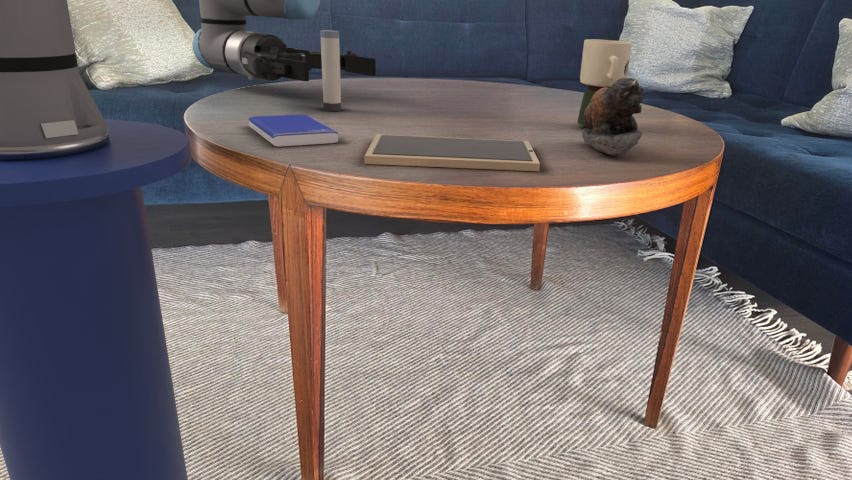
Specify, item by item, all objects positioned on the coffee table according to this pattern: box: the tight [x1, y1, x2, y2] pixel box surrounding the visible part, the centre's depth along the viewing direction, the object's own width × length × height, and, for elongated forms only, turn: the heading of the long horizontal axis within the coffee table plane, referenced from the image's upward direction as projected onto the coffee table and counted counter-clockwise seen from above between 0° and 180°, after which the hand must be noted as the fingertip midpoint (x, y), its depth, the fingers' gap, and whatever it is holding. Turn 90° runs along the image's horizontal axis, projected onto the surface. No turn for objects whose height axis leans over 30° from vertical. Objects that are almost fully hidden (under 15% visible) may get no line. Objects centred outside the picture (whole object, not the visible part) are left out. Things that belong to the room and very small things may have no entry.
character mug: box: [576, 38, 633, 126], centre depth 99 cm, size 11×7×13 cm, turn 5°
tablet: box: [364, 133, 541, 172], centre depth 79 cm, size 20×12×1 cm, turn 92°
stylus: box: [319, 29, 342, 112], centre depth 101 cm, size 3×3×12 cm
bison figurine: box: [581, 77, 644, 156], centre depth 84 cm, size 12×7×10 cm, turn 7°
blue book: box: [248, 114, 339, 147], centre depth 84 cm, size 2×8×12 cm
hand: (342, 69), depth 100 cm, fingers open, 13 cm apart
